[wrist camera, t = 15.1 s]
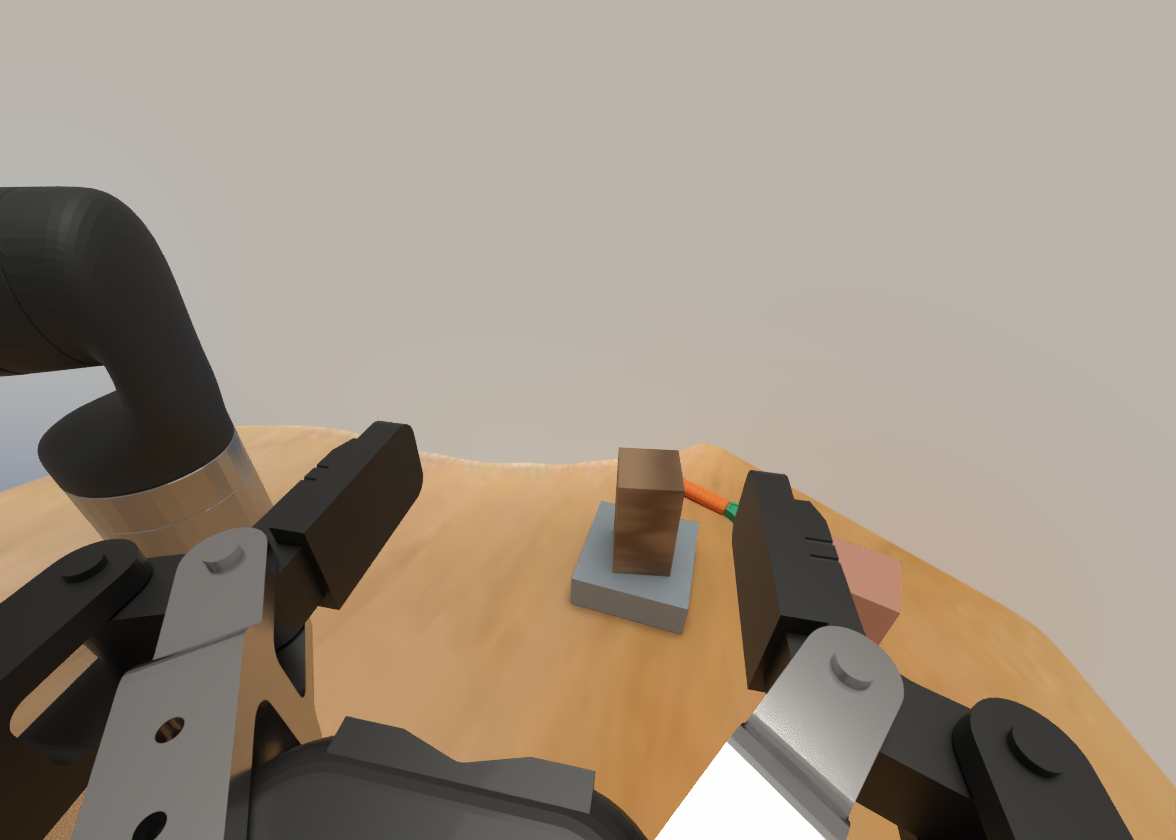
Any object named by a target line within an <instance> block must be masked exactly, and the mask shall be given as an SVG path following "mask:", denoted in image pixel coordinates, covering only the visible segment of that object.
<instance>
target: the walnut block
mask: <svg viewBox="0 0 1176 840" xmlns="http://www.w3.org/2000/svg"><path fill="white" fill-rule="evenodd" d="M684 493H685V489H684V483H683V476H682V470H681V464H680V457H679V451H678V450H658V449H657V450H656V449H638V448H637V449H636V448H619V455H618V471H617V486H616V502H615V518H614V540H613V573H624V574H640V575H656V576H670V573H671V568H672V562H673V556H674V550H675V545H676V539H677V533H678V528H679V522H680V516H681V510H682V505H683V499H684Z"/></svg>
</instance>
